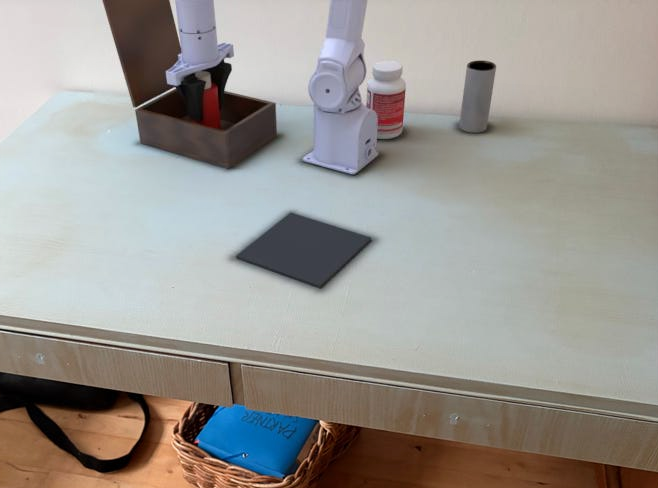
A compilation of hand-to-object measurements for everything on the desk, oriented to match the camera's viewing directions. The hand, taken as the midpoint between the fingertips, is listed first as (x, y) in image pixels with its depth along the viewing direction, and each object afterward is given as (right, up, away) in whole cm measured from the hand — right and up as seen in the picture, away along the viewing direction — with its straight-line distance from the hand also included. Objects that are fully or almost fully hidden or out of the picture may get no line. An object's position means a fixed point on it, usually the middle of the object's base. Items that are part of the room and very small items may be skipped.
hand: (206, 114), depth 123 cm
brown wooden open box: (0, -3, +3) cm, 4 cm away
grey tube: (+45, -1, +3) cm, 45 cm away
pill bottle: (+30, -2, +3) cm, 30 cm away
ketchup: (0, -2, +2) cm, 2 cm away
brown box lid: (-9, +12, -3) cm, 16 cm away
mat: (+15, -26, -24) cm, 38 cm away
